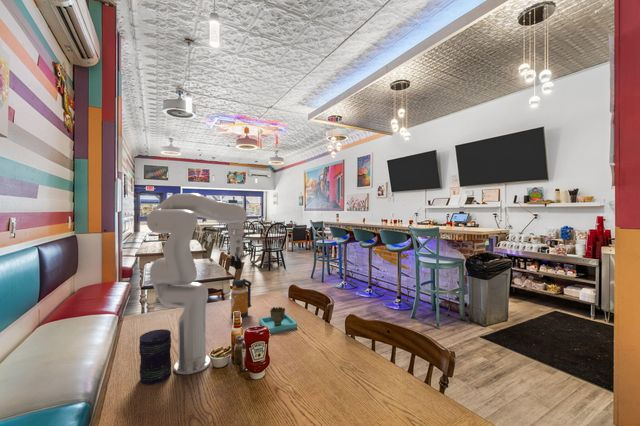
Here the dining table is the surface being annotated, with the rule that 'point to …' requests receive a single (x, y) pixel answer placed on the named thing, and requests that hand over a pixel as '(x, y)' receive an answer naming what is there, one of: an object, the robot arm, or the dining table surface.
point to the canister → (241, 297)
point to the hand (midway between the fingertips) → (236, 267)
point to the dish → (285, 325)
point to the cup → (277, 315)
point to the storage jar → (155, 356)
